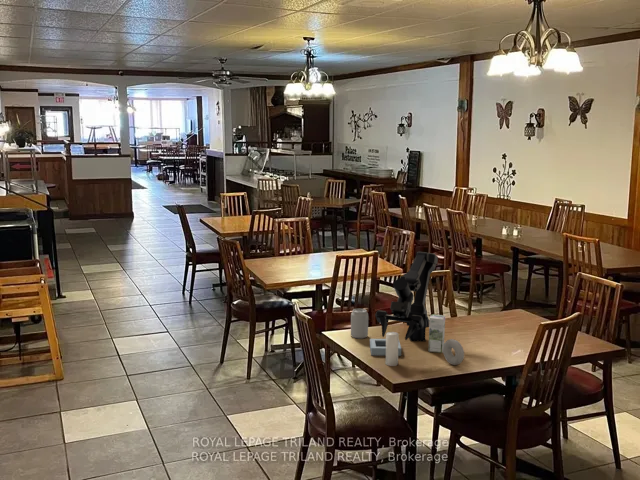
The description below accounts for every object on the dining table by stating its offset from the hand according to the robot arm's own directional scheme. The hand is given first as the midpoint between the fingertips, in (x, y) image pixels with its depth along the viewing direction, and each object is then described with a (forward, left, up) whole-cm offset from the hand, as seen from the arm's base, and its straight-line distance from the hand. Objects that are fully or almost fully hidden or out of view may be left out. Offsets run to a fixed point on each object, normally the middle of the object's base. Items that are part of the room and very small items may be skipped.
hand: (394, 338), depth 245 cm
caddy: (+2, -13, -10) cm, 17 cm away
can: (+12, -31, -10) cm, 35 cm away
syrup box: (-19, -14, -10) cm, 25 cm away
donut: (-23, +2, -10) cm, 25 cm away
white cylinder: (+1, +2, -10) cm, 10 cm away
